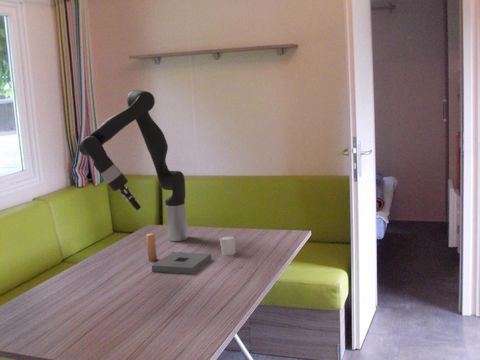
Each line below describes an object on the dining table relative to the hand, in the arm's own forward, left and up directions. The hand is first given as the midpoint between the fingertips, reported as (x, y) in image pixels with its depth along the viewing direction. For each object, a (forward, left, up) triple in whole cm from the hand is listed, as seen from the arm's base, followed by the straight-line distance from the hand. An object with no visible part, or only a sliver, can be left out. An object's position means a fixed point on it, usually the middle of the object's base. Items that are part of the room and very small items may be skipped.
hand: (138, 207), depth 238 cm
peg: (-2, +4, -23) cm, 23 cm away
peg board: (+3, +21, -23) cm, 31 cm away
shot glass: (-15, +34, -23) cm, 43 cm away
